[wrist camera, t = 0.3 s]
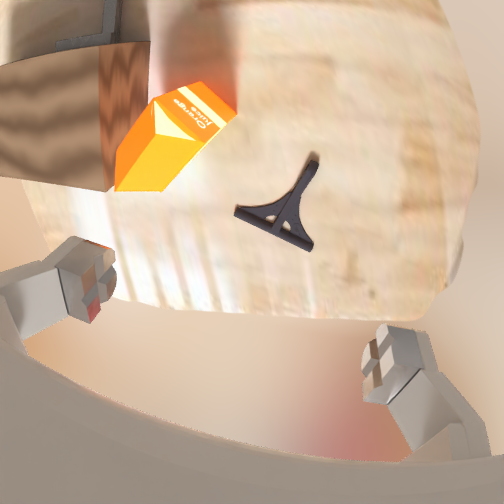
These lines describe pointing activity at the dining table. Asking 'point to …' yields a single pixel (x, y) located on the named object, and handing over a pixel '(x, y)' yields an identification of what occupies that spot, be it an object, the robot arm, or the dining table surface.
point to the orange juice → (169, 137)
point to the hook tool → (108, 30)
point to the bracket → (283, 213)
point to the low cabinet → (71, 113)
